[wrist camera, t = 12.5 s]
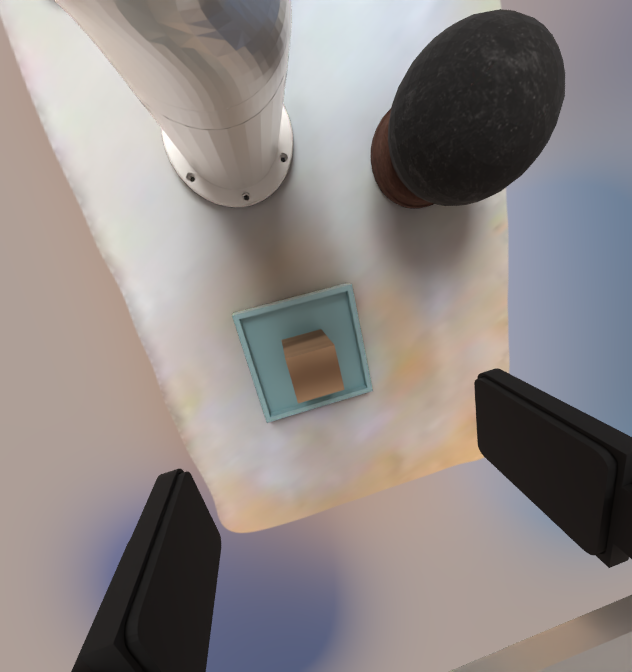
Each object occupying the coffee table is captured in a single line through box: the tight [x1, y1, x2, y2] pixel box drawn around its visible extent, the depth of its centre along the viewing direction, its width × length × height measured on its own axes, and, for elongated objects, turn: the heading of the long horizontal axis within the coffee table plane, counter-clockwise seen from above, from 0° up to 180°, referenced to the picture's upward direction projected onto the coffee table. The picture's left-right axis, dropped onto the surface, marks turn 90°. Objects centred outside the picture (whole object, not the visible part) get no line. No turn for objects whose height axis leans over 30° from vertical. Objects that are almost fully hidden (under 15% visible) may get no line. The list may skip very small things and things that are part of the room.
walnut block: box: [281, 329, 345, 403], centre depth 33 cm, size 5×5×7 cm
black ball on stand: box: [371, 9, 565, 208], centre depth 26 cm, size 13×13×15 cm
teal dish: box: [232, 283, 373, 423], centre depth 36 cm, size 14×14×2 cm
